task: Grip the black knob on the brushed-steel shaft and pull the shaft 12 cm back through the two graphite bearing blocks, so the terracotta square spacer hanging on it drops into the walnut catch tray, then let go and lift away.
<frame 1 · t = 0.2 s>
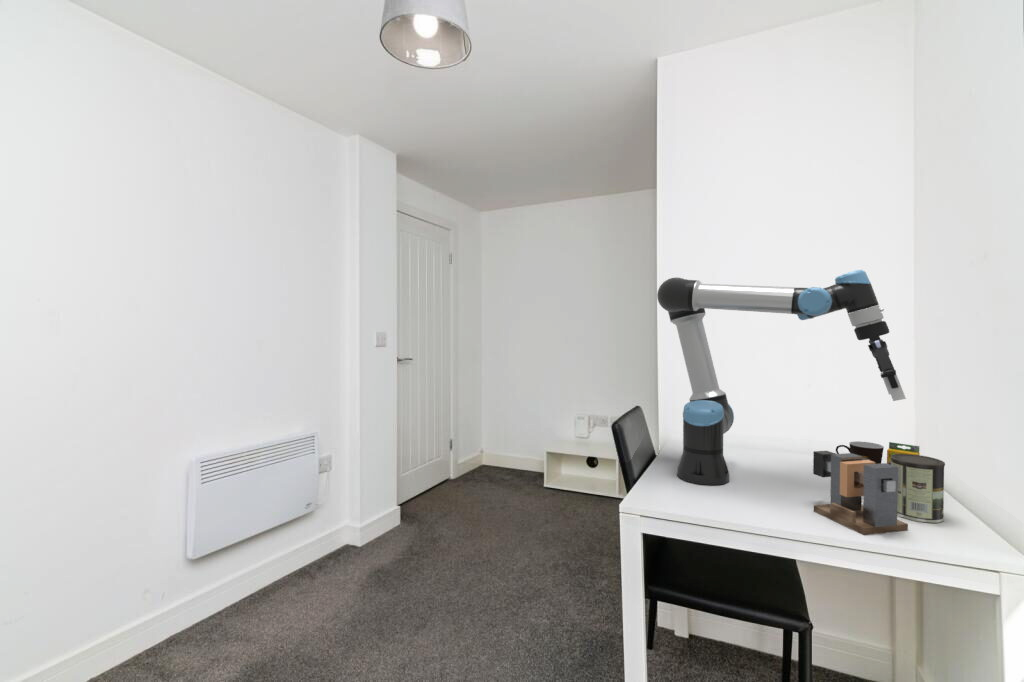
hand: (897, 396, 131), 28 cm above the table, tool tilted 20°, fingers open, 13 cm apart
shaft: (852, 473, 116), point 11 cm above the table, slide at 0.0 cm, touching spacer
coffee can: (915, 515, 118), on the table
bearing blocks: (862, 488, 114), point 8 cm above the table
coffee mug: (860, 475, 149), on the table
crayon box: (902, 483, 141), on the table
catch tray: (858, 520, 115), on the table
spacer: (857, 494, 115), point 6 cm above the table, touching shaft
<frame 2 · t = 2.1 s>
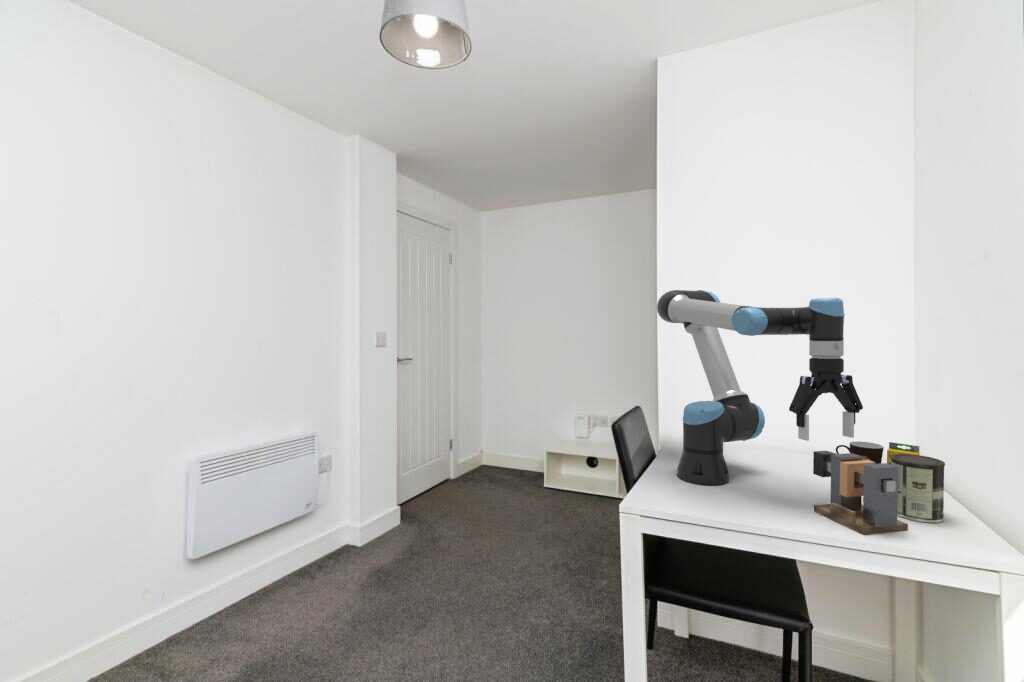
hand: (826, 438, 124), 18 cm above the table, tool pointing down, fingers open, 13 cm apart
nothing on the table moved.
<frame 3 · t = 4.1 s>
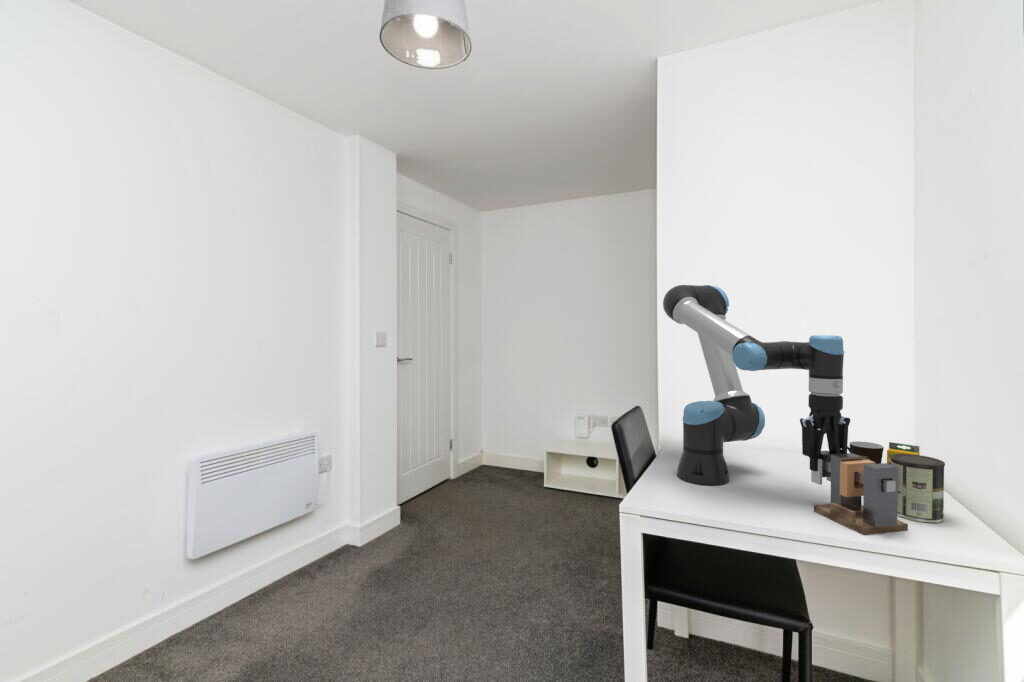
hand: (824, 482, 124), 6 cm above the table, tool pointing down, fingers closed on shaft, 4 cm apart
shaft: (852, 473, 116), point 11 cm above the table, slide at 0.0 cm, touching gripper, spacer
everything else where it was.
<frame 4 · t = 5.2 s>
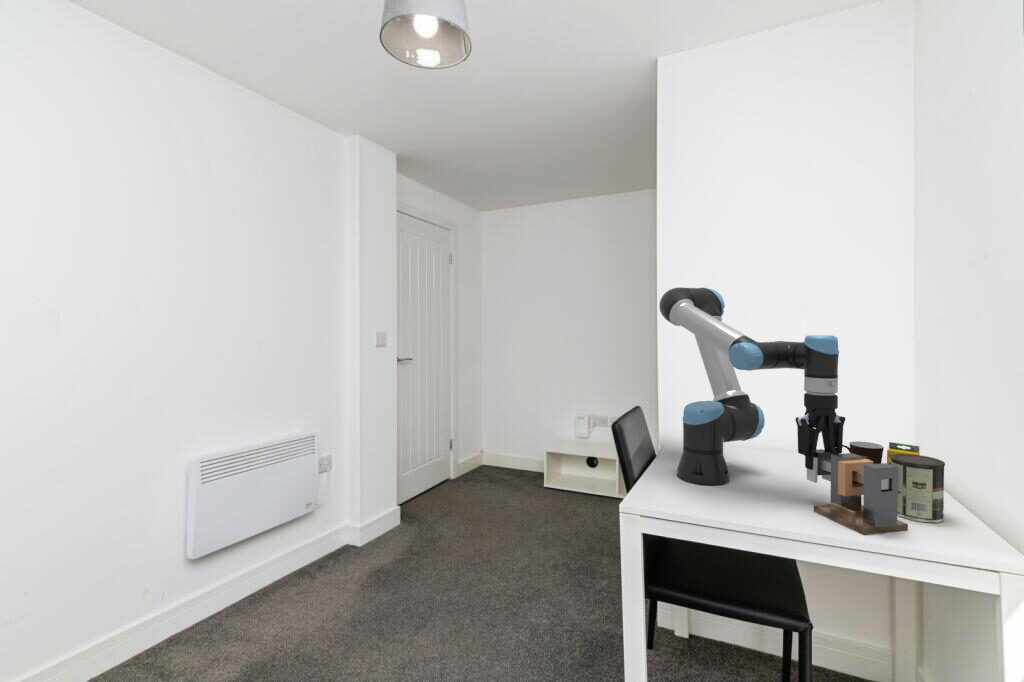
hand: (819, 480, 126), 6 cm above the table, tool pointing down, fingers closed on shaft, 4 cm apart
shaft: (847, 471, 118), point 11 cm above the table, slide at 1.5 cm, touching gripper
spacer: (855, 493, 115), point 6 cm above the table
everything else where it was.
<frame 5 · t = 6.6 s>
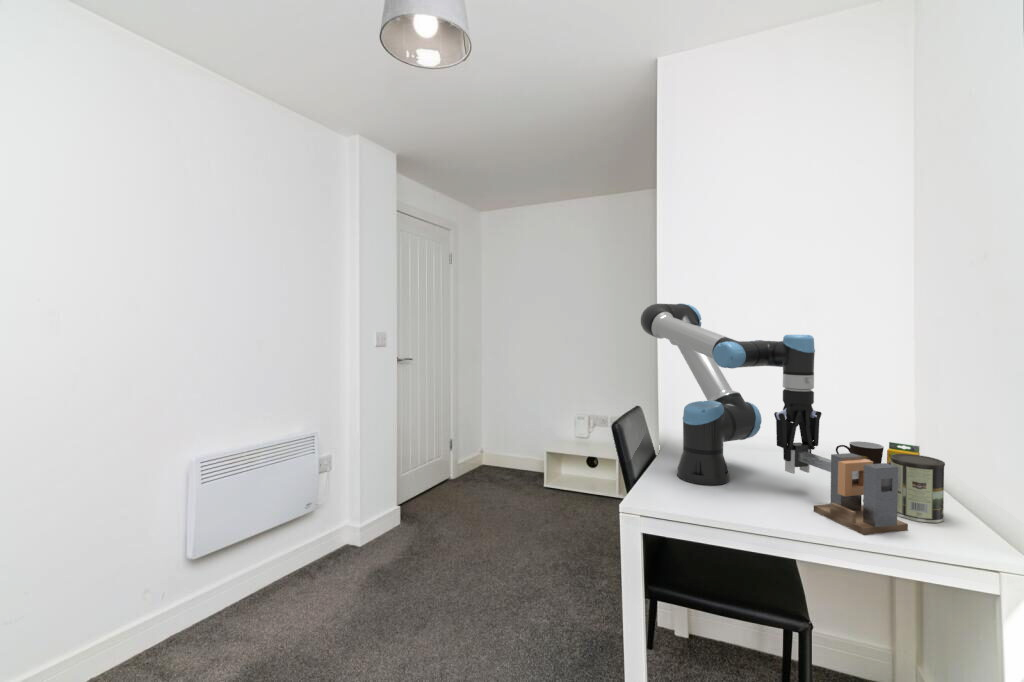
hand: (797, 471, 133), 6 cm above the table, tool pointing down, fingers closed on shaft, 4 cm apart
shaft: (822, 462, 125), point 11 cm above the table, slide at 9.1 cm, touching gripper
everything else where it was.
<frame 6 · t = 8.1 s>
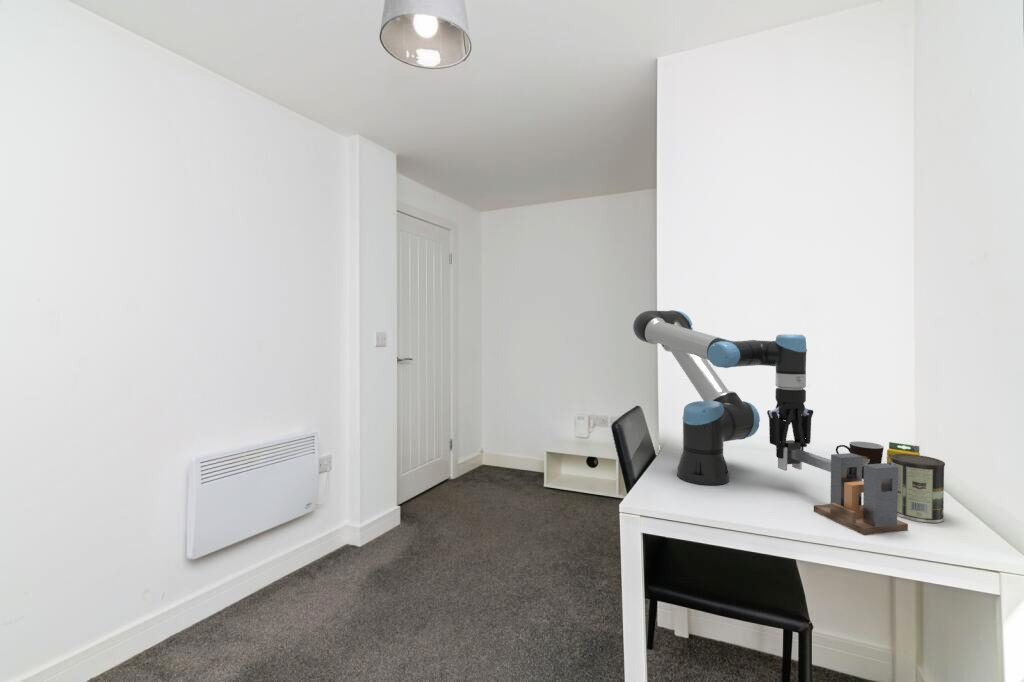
hand: (789, 468, 136), 6 cm above the table, tool pointing down, fingers closed on shaft, 4 cm apart
shaft: (813, 460, 128), point 11 cm above the table, slide at 11.8 cm, touching gripper
spacer: (861, 515, 114), point 1 cm above the table, touching catch tray
everything else where it was.
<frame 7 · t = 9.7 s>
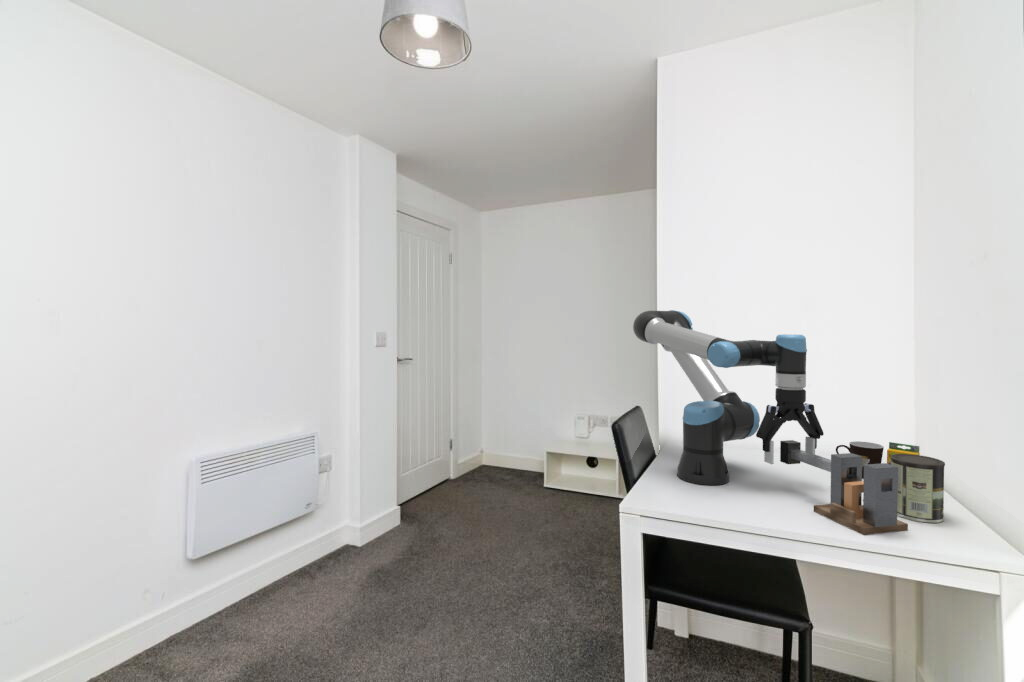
hand: (789, 461, 136), 8 cm above the table, tool pointing down, fingers open, 13 cm apart
shaft: (813, 460, 128), point 11 cm above the table, slide at 11.8 cm
everything else where it was.
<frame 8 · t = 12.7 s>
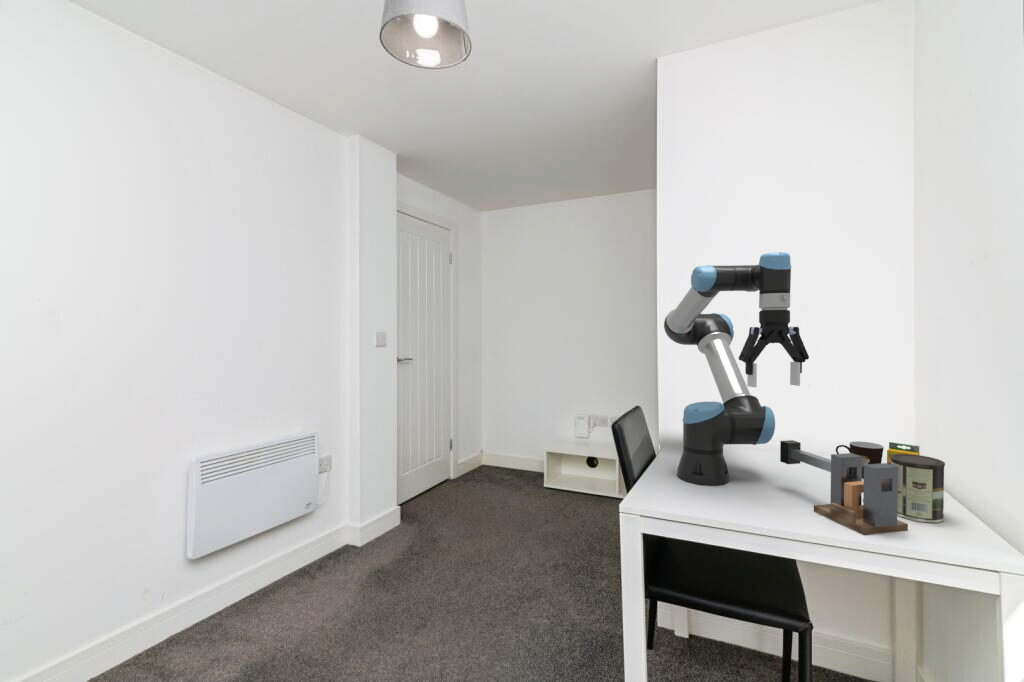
hand: (773, 386, 131), 31 cm above the table, tool pointing down, fingers open, 13 cm apart
nothing on the table moved.
at the end: shaft slide at 11.8 cm; spacer inside the target area (0.2 cm from its centre), point 1.5 cm above the table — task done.
